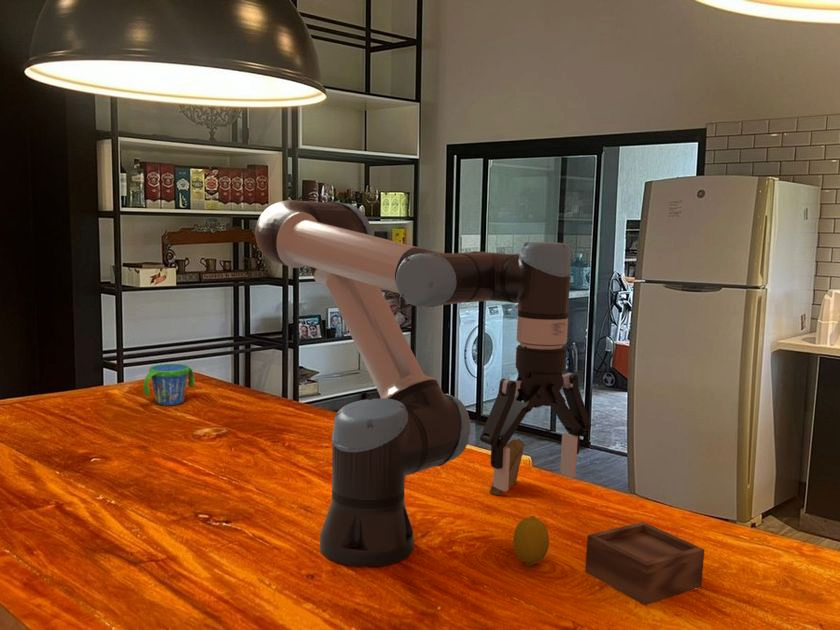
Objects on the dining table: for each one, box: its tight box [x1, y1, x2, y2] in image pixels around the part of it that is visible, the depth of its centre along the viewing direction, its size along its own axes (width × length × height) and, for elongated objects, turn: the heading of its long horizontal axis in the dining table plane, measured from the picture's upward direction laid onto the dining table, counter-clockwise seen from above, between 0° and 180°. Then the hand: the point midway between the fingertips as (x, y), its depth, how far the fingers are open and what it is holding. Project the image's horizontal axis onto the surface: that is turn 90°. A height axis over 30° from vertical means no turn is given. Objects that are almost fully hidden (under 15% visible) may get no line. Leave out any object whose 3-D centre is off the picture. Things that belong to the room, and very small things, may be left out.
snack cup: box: [142, 363, 196, 406], centre depth 219 cm, size 16×10×10 cm
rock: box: [488, 438, 526, 496], centre depth 159 cm, size 11×9×10 cm
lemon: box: [512, 515, 550, 567], centre depth 122 cm, size 6×6×8 cm
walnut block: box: [584, 521, 705, 606], centre depth 119 cm, size 12×12×6 cm
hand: (535, 481), depth 121 cm, fingers open, 13 cm apart
